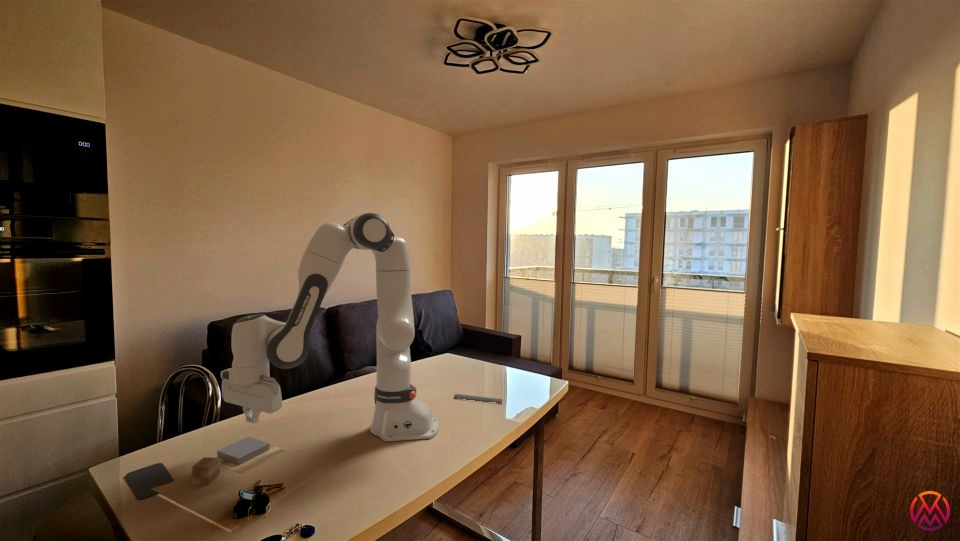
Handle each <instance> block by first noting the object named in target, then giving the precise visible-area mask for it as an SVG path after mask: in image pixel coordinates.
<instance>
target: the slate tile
mask: <svg viewBox="0 0 960 541" xmlns="http://www.w3.org/2000/svg"><path fill="white" fill-rule="evenodd" d="M269 445H270V443H269V442H265V441H263V440H260V439H257V438H254V437H251V436H247V437H243V438H242V439H240V440H238V441H235V442H233V443H230V444H229V445H226V446H224V447H221V448H219V449H218V450H217V452H216V454H217V457H219V458H221V459H224V460H227V461H229V462H232V463H234V464H237V465H240V464H242V463H244V462H246V461H248V460H250V459H252V458H254V457H256V456H258V455H260V454H262V453H264V452H266V451H268V450H269Z"/></svg>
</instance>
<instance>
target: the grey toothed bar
mask: <svg viewBox="0 0 960 541" xmlns="http://www.w3.org/2000/svg"><path fill="white" fill-rule="evenodd" d="M454 398H459V399H466V400H465V401H467V400H475V401H474V402H476V401H483V402H482V403H484V402H496V403H501V404H502V402H503V398H495V397H486V396H478V395H477V396H476V395H469V394H461V393H454V396H453V399H454Z"/></svg>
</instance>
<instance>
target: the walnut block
mask: <svg viewBox="0 0 960 541" xmlns="http://www.w3.org/2000/svg"><path fill="white" fill-rule="evenodd" d="M220 466H221V465H220V458H208V457H202V458H201V459H200V460H198V461H197V462H196V463H195V464H193V465H192V466H191V475H192V476H191V485H194V486H195V485H196V486H198V485H199V486H200V485H201V486H202V485H203V486H204V485H205V486H208V485H210V484H211V483H212V482H214V481H215V480H216V479H217V478H218V477H220Z"/></svg>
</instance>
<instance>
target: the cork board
mask: <svg viewBox="0 0 960 541" xmlns="http://www.w3.org/2000/svg"><path fill="white" fill-rule="evenodd" d="M284 451H286V449H282V448H280V447H277V446H275V445H271V444H269V450H268V451H266V452H264V453H262V454H260V455H258V456H256V457H254V458H252V459H250V460H248V461H246V462H244V463H242V464H240V465H237V464H234V463H232V462H229V461H227V460H224V459H221V458H220V465H219V466H221V467H224V468H225V469H229V470H231V471H234V472H236V473H238V474H240V475H241V474H243V473H246V472H248V471H249V470H251V469H252V468H254V467H256V466H258V465H260V464H263V463H264V462H266V461H268V460H270V459H272V458H273V457H276V456H277V455H279V454H281V453H283V452H284ZM207 458H219V457H217V453H214V454H212V455H210V456H208V457H207Z"/></svg>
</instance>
